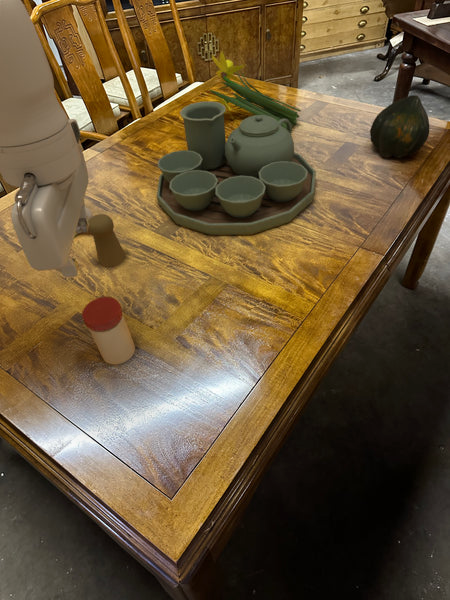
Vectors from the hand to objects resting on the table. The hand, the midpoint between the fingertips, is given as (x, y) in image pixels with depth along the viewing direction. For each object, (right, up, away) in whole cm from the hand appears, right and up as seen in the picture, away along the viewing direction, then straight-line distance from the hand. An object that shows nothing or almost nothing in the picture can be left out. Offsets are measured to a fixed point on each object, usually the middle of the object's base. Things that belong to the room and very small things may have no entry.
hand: (78, 250), depth 57 cm
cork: (-5, +2, +35) cm, 35 cm away
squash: (+67, +34, +59) cm, 95 cm away
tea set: (+23, +21, +50) cm, 59 cm away
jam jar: (+1, -16, +17) cm, 23 cm away
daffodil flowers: (+30, +52, +80) cm, 100 cm away
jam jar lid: (+1, -9, +9) cm, 13 cm away
